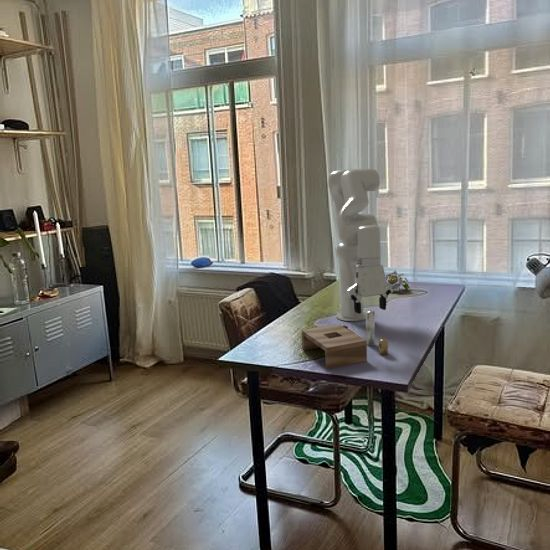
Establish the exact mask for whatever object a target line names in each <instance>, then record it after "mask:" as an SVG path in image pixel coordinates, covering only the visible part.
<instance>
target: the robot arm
mask: <svg viewBox="0 0 550 550" xmlns="http://www.w3.org/2000/svg"><path fill="white" fill-rule="evenodd" d="M380 179H381V177H380V175H379V172H378V171H377V170H376V169H375V168H351V169H338V170H334V171H332V172H331V173H329V176H328V181H327V183H328V188H329V192H330V195H331V197H332V200H333V202H334V206H335V213H336V225H337V232H338V238H339V242H340V243H339V244H337V246H336V248H335V253H336V254H335V255H336V258H337V259H336V260H337V266H338V277H339V278H338V280H339V281H338V282H339V283H338V285H339V287H338V288H339V305H338V308H339V312H337V313H336V318H337V319H338V320H341V321H344V322H359V321H364V320H366V311H364V298H367V297H374V296H379V298H378V300H379V305H378V307H379V309H380V310H383V311H386V310H387V299H388V298H389V295H390V294H391V289H392V287H393V285H392V284H390V283H388V282H386V279H385V277H386V273H385V272H386V271H385V268H384V265H383V264H381V261H382V260H381V256H382V255H381V228H380V227H379V226H378V220H377V217H376V216H375V215H374V214H373V213H361V212H363V211H365V209H367V207H368V206H369V203H370V201H369V197H368V193H367V192H376V191H378V189H379V188H380V184H381V180H380Z"/></svg>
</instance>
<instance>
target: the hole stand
mask: <svg viewBox="0 0 550 550" xmlns="http://www.w3.org/2000/svg"><path fill="white" fill-rule="evenodd" d="M348 329H349V328H348ZM348 329H346V328H344V327H342V326H341V324H339V323H337V324H336V323H335V324H330V325H324V326H319V327H313V328H307V329H302V330H301V346H302V347H301V349H302V351H304V350H305V351H309V350H308V349H310V350H314V349H313V348H316V349H322V350H323V351H324V357H325V359H324V360H325V369H327V370H329V369H334V368H340V367H344V366H350V365H355V364H359V363H364V362H368V355H367V354H368V349H367V348H368V345H367V340H366V338H363V337H361V336H360V335H358V334H356V333H355V332H354V331H353V332H354V333H353V332H351V331H352V330H351V331H349V330H350V329H349V330H348ZM319 347H320V348H319Z"/></svg>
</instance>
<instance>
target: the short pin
mask: <svg viewBox="0 0 550 550" xmlns="http://www.w3.org/2000/svg"><path fill="white" fill-rule="evenodd" d="M378 355H379V356H387V355H389V339H388V338H385V337H381V338H379V339H378Z"/></svg>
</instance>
